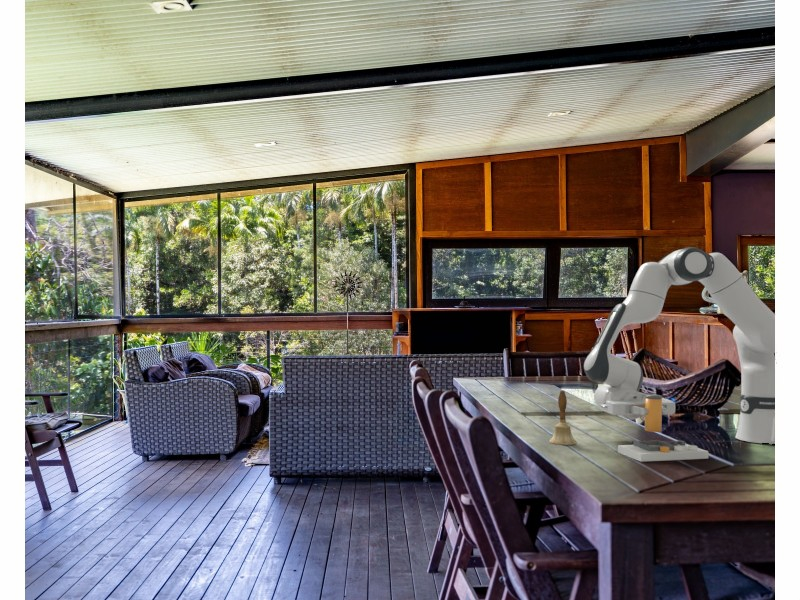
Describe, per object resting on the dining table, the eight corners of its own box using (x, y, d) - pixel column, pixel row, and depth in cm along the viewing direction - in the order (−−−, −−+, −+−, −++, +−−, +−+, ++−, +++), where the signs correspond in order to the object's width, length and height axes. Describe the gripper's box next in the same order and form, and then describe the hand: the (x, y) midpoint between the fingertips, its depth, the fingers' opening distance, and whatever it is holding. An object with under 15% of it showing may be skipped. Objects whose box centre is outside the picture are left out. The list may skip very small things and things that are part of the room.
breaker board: (682, 449, 206) (682, 438, 206) (708, 458, 194) (708, 447, 194) (617, 452, 201) (617, 441, 201) (640, 461, 190) (640, 449, 190)
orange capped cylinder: (655, 428, 201) (656, 394, 201) (664, 431, 197) (665, 396, 197) (641, 429, 200) (642, 394, 200) (650, 432, 196) (651, 396, 196)
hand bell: (557, 445, 210) (557, 393, 210) (544, 440, 218) (544, 389, 218) (581, 444, 212) (582, 392, 212) (568, 439, 220) (568, 388, 220)
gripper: (597, 394, 209) (622, 401, 195) (658, 393, 213) (686, 400, 200) (597, 415, 209) (621, 423, 195) (658, 414, 213) (686, 422, 200)
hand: (655, 411), depth 197 cm, fingers closed on orange capped cylinder, 4 cm apart
